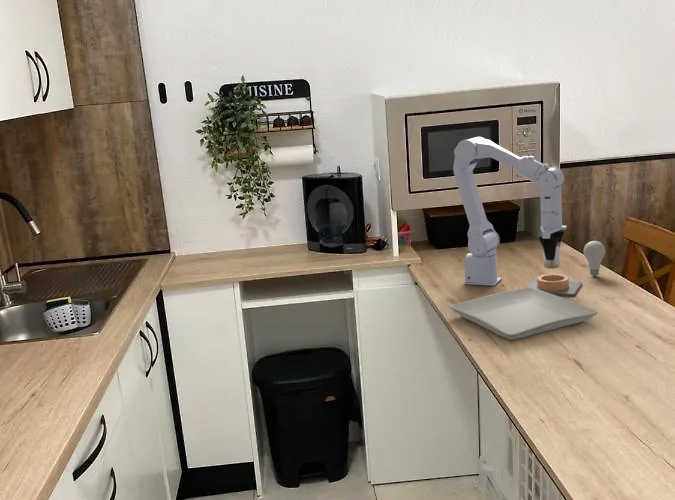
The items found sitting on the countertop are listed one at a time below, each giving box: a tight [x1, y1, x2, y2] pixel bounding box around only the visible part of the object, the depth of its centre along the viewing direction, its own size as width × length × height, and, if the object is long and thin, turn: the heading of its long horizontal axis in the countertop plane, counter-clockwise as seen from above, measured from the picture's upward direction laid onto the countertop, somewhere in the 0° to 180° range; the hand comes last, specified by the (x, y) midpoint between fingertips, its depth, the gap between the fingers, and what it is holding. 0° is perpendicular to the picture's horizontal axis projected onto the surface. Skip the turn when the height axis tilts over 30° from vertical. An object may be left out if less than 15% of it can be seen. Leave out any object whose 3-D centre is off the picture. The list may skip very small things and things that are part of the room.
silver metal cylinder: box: [542, 242, 561, 269], centre depth 207 cm, size 5×5×7 cm
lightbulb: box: [583, 240, 606, 278], centre depth 217 cm, size 6×6×11 cm
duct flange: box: [525, 273, 583, 298], centre depth 209 cm, size 14×12×3 cm
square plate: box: [448, 287, 599, 341], centre depth 186 cm, size 27×27×4 cm
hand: (552, 257), depth 207 cm, fingers closed on silver metal cylinder, 4 cm apart
